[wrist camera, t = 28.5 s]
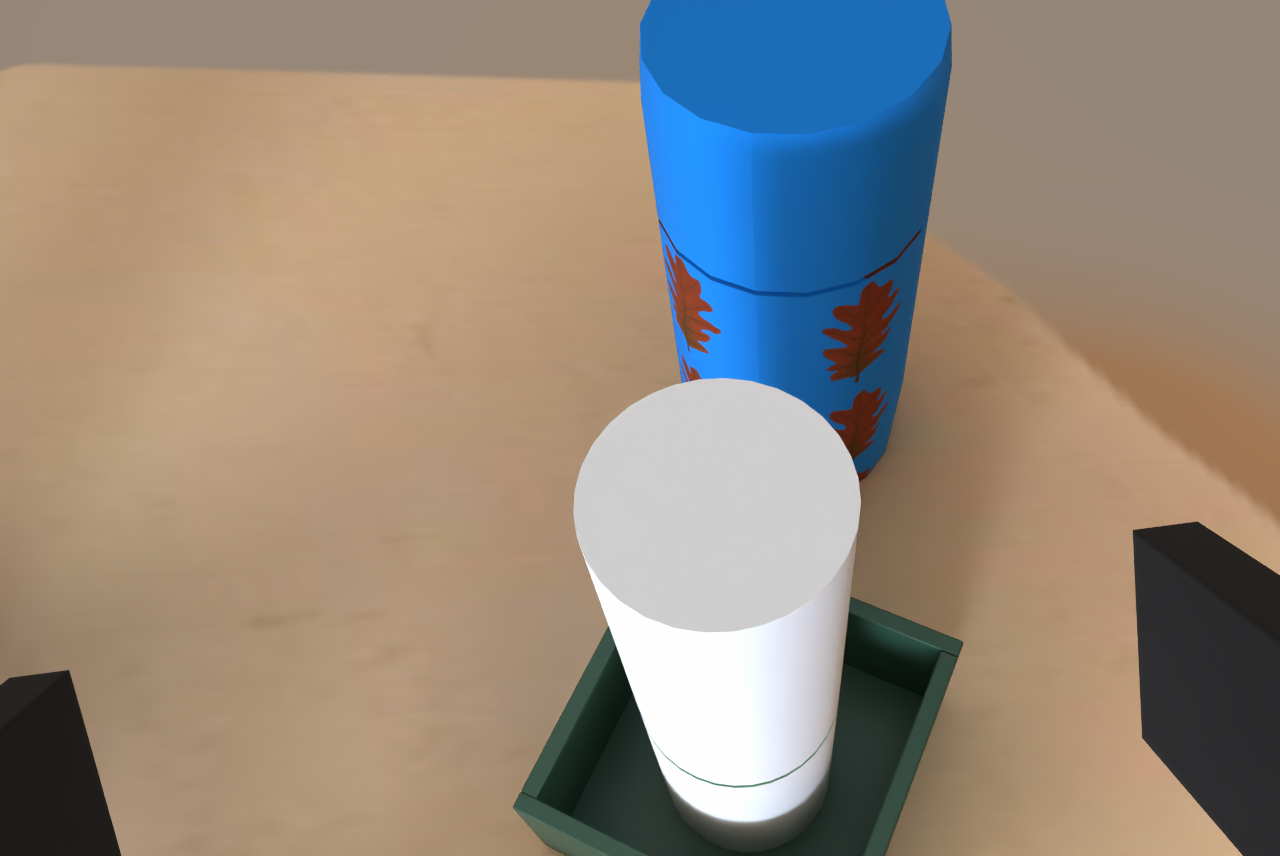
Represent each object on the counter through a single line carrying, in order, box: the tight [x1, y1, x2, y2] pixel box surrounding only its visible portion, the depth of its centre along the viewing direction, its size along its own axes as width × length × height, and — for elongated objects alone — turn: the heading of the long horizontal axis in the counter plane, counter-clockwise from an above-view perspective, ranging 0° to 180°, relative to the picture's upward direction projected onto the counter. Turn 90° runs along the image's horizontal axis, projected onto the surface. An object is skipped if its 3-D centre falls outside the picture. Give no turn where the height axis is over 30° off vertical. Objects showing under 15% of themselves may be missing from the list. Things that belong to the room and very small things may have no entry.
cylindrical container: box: [573, 378, 861, 852], centre depth 39 cm, size 7×7×25 cm
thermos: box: [640, 0, 952, 481], centre depth 49 cm, size 11×11×25 cm
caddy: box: [513, 597, 963, 856], centre depth 47 cm, size 13×13×7 cm
